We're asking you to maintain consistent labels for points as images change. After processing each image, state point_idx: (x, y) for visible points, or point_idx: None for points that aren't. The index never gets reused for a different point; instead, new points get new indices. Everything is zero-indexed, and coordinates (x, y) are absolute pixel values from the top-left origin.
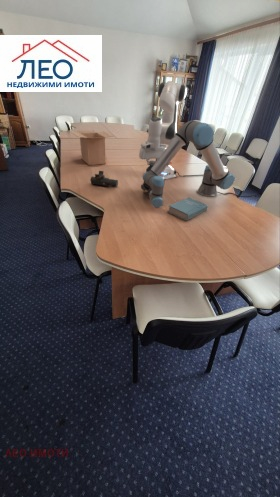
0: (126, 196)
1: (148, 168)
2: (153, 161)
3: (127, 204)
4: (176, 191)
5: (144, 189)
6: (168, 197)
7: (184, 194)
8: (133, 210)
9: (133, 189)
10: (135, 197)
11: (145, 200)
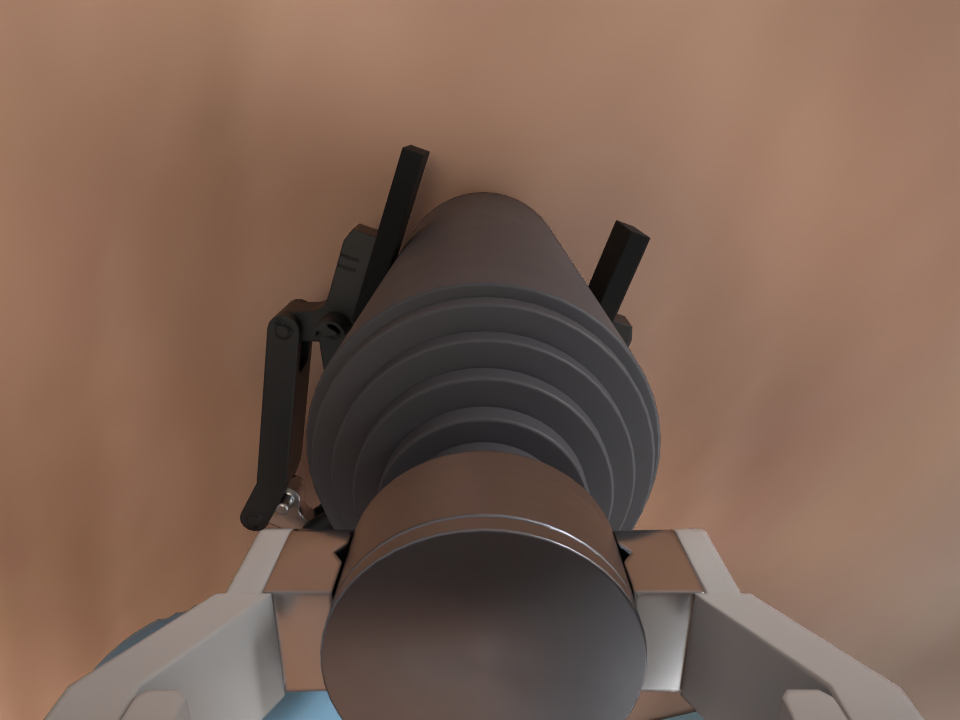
0: (71, 282)
1: (341, 505)
2: (554, 690)
3: (35, 510)
4: (938, 352)
5: (250, 528)
6: (665, 494)
7: (955, 479)
8: (76, 648)
9: (270, 30)
10: (200, 356)
11: (307, 481)
